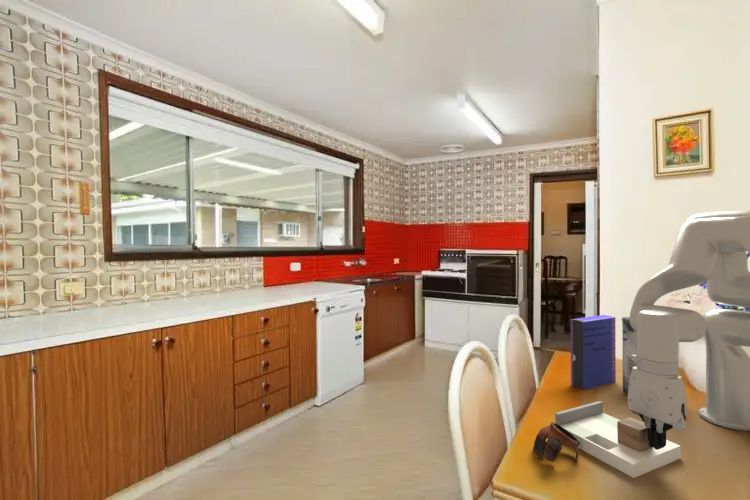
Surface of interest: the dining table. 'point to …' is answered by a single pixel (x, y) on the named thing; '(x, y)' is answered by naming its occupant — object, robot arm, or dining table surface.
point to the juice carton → (628, 351)
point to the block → (633, 434)
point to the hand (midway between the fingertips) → (656, 446)
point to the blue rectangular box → (593, 351)
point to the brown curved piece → (554, 442)
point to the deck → (612, 441)
